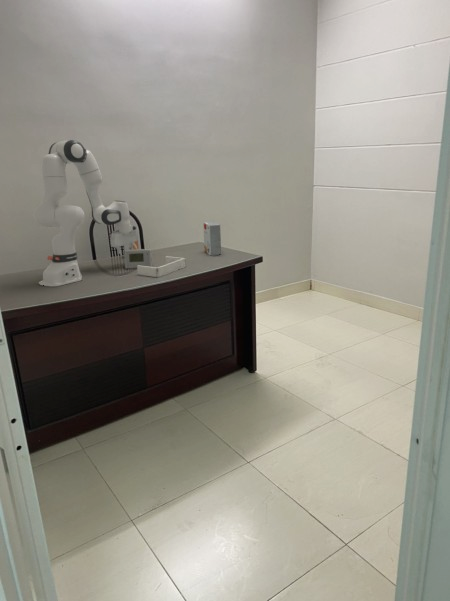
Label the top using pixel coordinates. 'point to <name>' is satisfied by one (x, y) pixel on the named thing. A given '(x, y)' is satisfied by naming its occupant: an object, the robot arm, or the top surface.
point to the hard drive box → (212, 238)
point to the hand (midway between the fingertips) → (125, 251)
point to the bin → (163, 267)
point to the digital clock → (138, 258)
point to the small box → (135, 246)
